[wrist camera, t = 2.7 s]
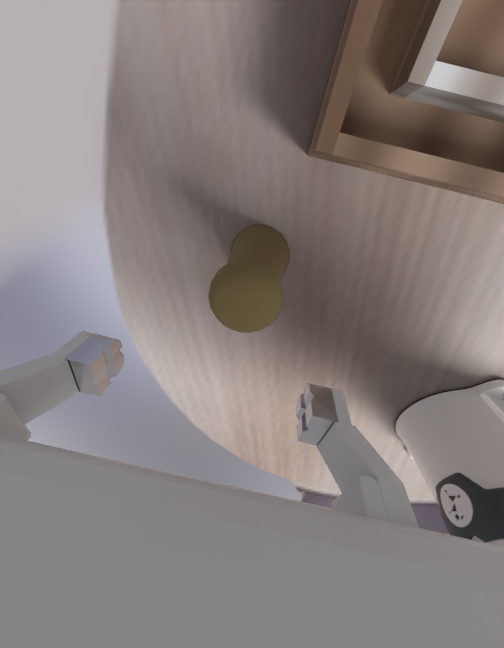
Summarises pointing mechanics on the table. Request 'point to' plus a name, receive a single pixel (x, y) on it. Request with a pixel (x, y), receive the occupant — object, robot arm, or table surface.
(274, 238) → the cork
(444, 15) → the walled box
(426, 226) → the table surface
